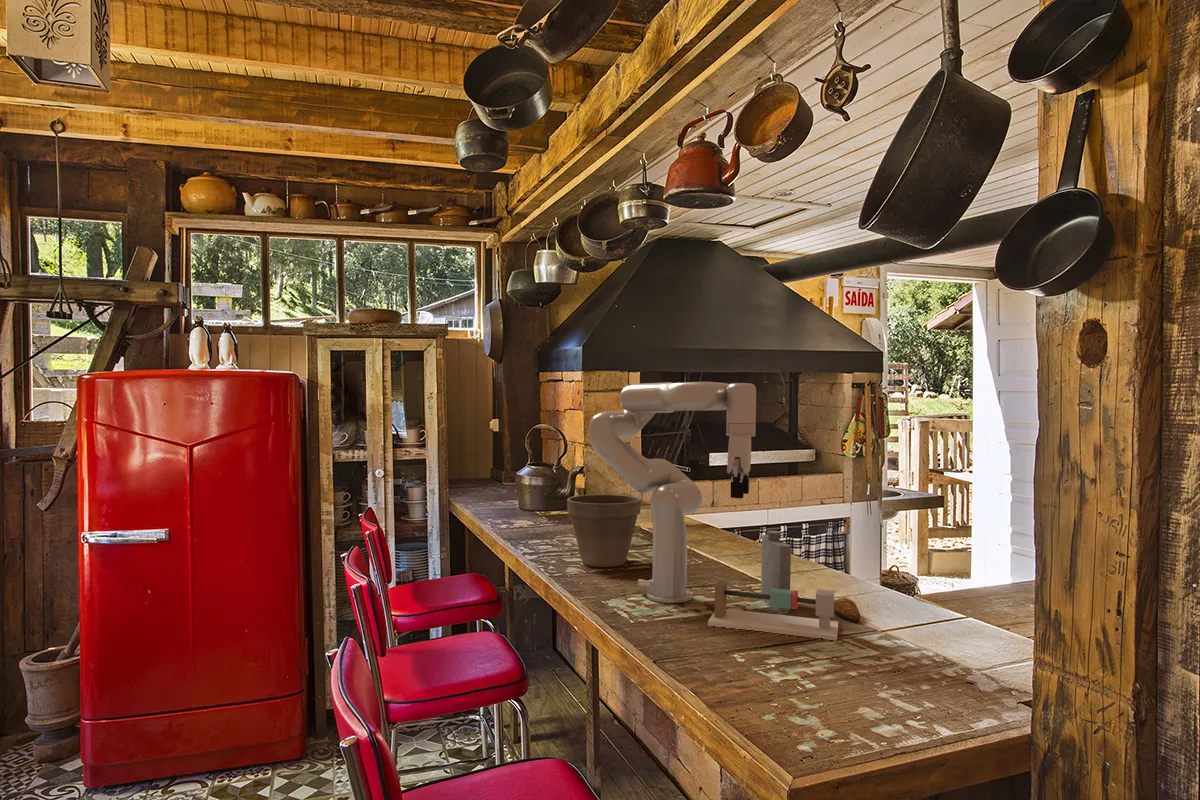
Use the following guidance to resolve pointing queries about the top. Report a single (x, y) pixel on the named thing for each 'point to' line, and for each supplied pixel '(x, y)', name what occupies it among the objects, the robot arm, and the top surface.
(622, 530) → the plant pot
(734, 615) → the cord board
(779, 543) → the hip flask
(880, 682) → the top surface
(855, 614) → the croissant
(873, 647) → the top surface
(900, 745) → the top surface
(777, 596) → the sleeve
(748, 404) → the robot arm
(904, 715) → the top surface
